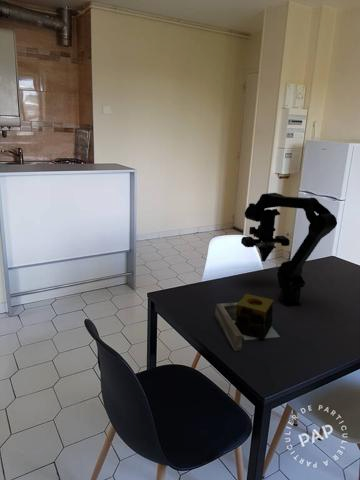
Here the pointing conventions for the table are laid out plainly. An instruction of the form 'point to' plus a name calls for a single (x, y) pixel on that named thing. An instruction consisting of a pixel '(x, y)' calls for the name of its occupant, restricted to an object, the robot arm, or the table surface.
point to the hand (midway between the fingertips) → (263, 261)
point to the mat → (270, 334)
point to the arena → (229, 323)
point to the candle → (254, 316)
